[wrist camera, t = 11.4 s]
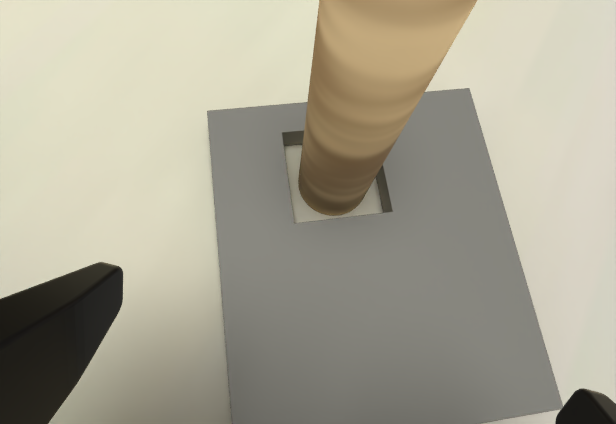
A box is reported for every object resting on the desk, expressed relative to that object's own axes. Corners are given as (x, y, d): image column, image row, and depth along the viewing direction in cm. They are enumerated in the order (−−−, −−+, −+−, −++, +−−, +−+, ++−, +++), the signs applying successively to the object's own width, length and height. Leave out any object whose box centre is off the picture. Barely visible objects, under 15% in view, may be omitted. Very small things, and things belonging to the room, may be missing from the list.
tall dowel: (372, 211, 22) (522, -4, 8) (303, 219, 21) (344, 6, 8) (359, 148, 23) (475, -133, 9) (294, 155, 22) (316, -128, 9)
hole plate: (542, 403, 19) (563, 408, 18) (238, 457, 18) (235, 467, 16) (457, 103, 24) (469, 88, 22) (211, 125, 22) (207, 110, 21)
